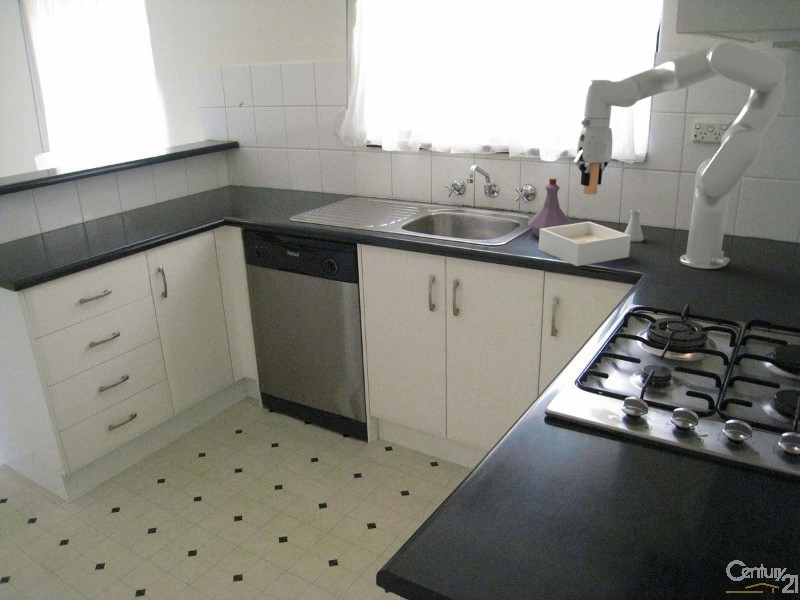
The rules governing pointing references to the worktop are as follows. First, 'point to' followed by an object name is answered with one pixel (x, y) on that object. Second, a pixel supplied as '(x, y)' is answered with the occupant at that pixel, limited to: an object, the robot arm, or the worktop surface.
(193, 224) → the worktop surface
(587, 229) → the box
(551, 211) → the flask
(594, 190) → the peg
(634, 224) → the flask
